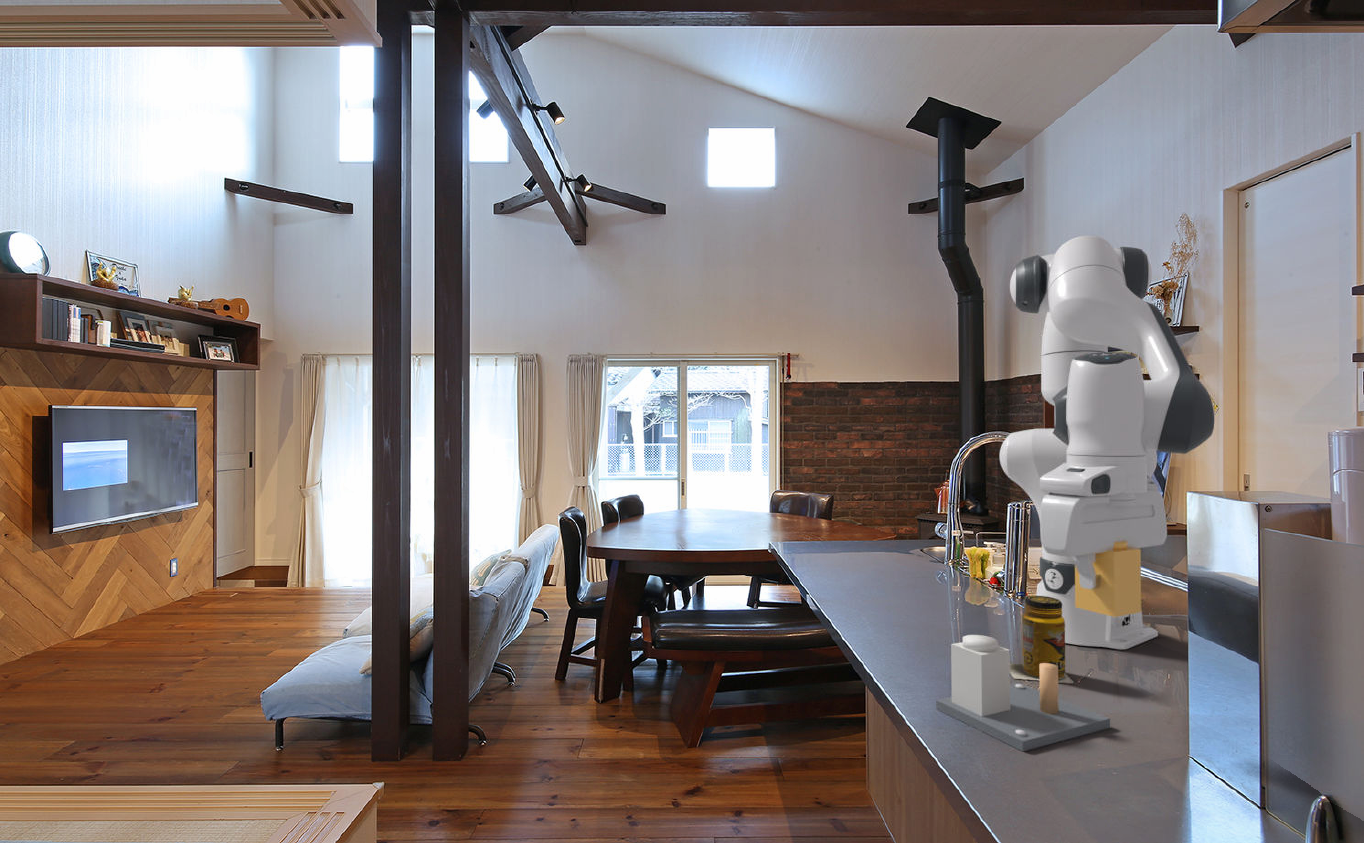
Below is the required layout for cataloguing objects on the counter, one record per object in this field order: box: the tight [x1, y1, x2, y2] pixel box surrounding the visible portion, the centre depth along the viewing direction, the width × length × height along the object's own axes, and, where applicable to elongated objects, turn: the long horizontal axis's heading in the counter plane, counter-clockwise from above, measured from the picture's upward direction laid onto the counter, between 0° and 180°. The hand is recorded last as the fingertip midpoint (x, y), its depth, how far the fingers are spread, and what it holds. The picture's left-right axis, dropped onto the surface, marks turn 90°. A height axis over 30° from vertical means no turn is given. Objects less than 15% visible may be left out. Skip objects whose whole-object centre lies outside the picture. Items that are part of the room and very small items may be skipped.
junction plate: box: [935, 634, 1111, 752], centre depth 93 cm, size 16×14×10 cm
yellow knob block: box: [1075, 541, 1142, 617], centre depth 89 cm, size 5×5×9 cm
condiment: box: [1010, 595, 1075, 684], centre depth 110 cm, size 7×8×12 cm
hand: (1106, 585), depth 89 cm, fingers closed on yellow knob block, 5 cm apart
